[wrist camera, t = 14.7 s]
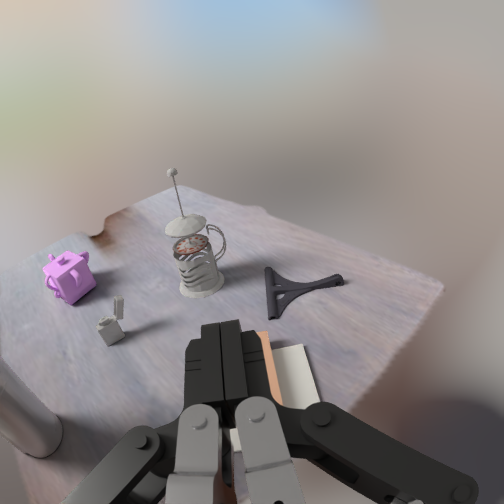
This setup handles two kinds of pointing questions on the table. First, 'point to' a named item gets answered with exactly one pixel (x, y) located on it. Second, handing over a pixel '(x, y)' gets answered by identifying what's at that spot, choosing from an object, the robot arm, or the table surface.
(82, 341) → the table surface
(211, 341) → the robot arm
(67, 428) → the table surface
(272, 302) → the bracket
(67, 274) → the teapot
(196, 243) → the french press
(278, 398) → the tile
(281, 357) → the mat
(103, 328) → the lighter
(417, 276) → the table surface
